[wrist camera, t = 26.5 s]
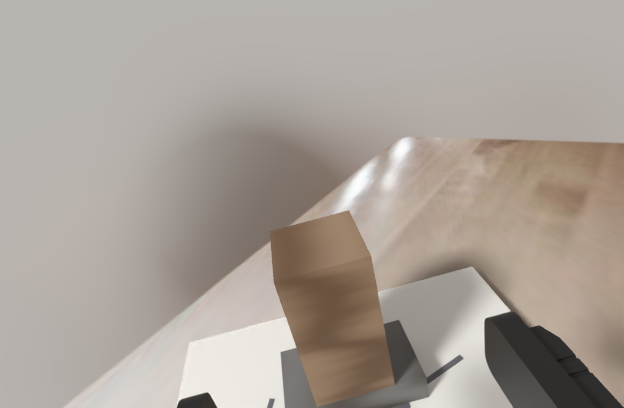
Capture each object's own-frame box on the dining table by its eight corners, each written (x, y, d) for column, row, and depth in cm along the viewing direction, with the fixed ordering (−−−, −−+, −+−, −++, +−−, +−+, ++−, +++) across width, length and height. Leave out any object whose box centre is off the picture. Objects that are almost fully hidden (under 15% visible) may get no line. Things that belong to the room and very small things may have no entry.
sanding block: (402, 338, 29) (380, 202, 24) (428, 397, 25) (409, 245, 19) (287, 370, 29) (238, 240, 23) (293, 434, 25) (234, 292, 19)
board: (472, 279, 35) (472, 266, 34) (621, 460, 21) (625, 444, 20) (195, 354, 35) (189, 342, 34) (153, 591, 20) (141, 579, 20)
